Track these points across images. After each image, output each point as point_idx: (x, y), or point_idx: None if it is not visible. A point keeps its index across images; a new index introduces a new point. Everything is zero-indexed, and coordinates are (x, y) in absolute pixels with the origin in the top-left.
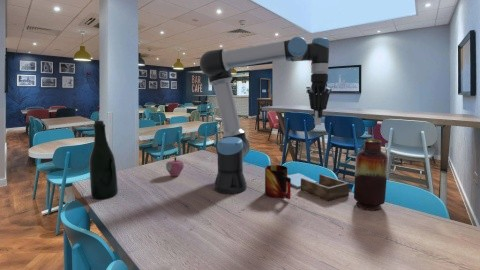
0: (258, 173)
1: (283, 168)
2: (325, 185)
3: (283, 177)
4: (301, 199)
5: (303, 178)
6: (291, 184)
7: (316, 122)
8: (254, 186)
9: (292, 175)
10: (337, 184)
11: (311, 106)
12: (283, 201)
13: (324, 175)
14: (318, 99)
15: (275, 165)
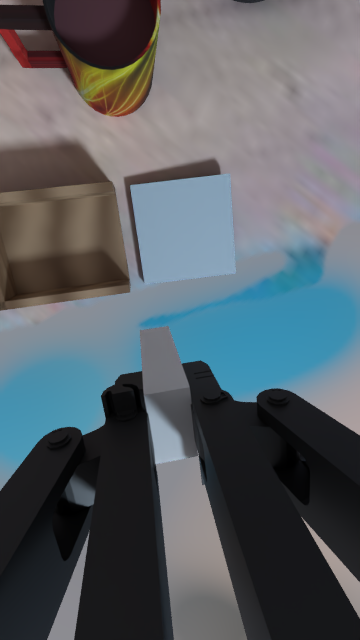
0: (342, 155)
1: (118, 71)
2: (100, 283)
3: (33, 9)
4: (32, 127)
5: (186, 256)
6: (162, 182)
7: (144, 336)
8: (219, 40)
9: (225, 234)
10: (45, 293)
11: (288, 411)
12: (36, 48)
13: (109, 293)
14: (134, 582)
15: (152, 37)
